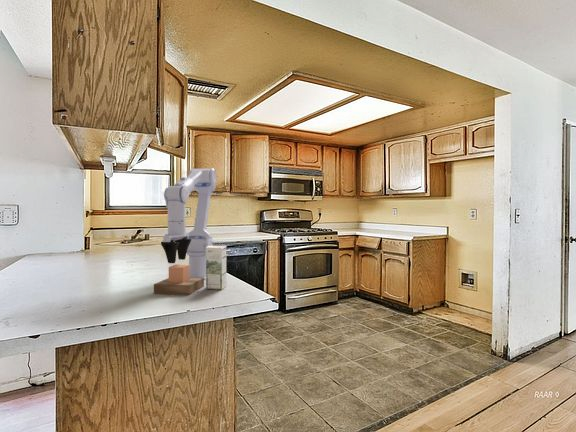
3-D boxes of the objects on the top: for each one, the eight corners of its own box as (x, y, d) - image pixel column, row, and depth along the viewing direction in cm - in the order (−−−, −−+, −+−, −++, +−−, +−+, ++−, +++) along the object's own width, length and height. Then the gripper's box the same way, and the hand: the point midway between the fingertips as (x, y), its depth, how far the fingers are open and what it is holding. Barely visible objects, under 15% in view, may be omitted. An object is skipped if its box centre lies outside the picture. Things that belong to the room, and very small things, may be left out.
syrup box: (227, 286, 117) (226, 244, 117) (222, 290, 112) (221, 246, 111) (211, 285, 118) (211, 244, 118) (205, 289, 112) (205, 246, 112)
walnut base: (171, 285, 119) (171, 276, 119) (204, 286, 117) (204, 277, 117) (153, 293, 107) (153, 284, 107) (189, 294, 105) (189, 285, 105)
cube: (175, 279, 115) (175, 264, 115) (189, 279, 114) (189, 264, 114) (168, 282, 110) (168, 267, 110) (183, 282, 109) (183, 267, 109)
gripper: (175, 220, 121) (175, 257, 121) (154, 222, 106) (154, 264, 107) (193, 220, 120) (194, 258, 120) (175, 222, 105) (175, 265, 106)
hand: (176, 261), depth 113 cm, fingers open, 7 cm apart
